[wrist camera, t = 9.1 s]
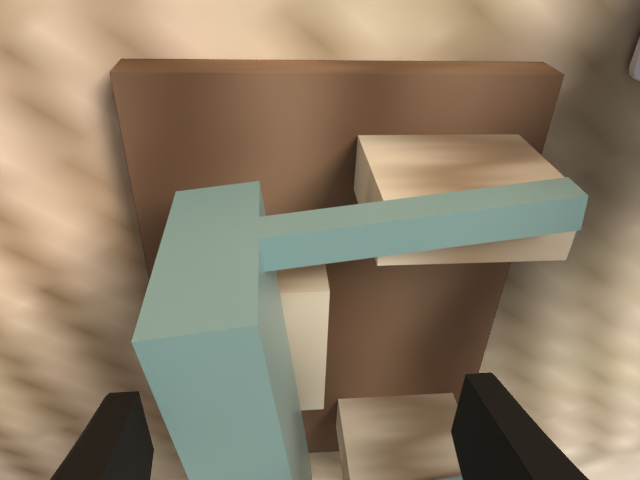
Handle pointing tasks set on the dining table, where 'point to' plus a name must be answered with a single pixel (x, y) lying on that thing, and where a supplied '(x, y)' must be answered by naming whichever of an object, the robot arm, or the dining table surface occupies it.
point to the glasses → (266, 307)
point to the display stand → (349, 189)
